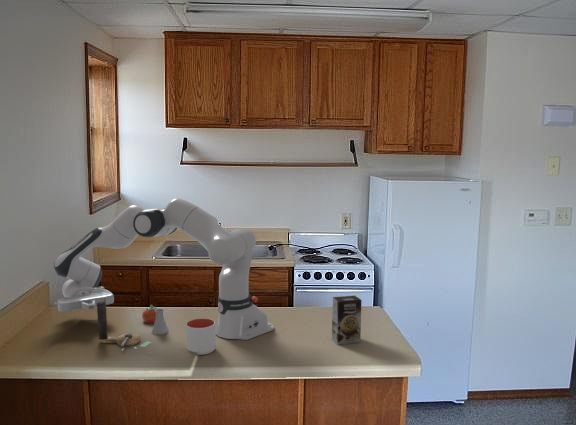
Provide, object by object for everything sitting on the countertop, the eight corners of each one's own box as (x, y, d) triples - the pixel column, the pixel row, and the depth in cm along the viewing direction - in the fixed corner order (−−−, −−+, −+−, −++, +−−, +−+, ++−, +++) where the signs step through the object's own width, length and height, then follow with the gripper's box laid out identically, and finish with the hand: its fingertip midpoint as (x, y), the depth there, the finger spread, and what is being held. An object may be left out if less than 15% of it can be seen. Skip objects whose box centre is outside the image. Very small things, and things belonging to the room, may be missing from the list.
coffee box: (337, 345, 189) (338, 301, 187) (331, 338, 196) (331, 296, 193) (361, 342, 192) (362, 299, 190) (354, 336, 198) (355, 294, 196)
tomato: (159, 327, 207) (158, 307, 206) (140, 327, 207) (139, 307, 206) (163, 320, 214) (163, 301, 213) (145, 320, 214) (144, 301, 213)
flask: (165, 339, 195) (164, 313, 193) (146, 338, 196) (145, 312, 195) (173, 332, 202) (172, 307, 200) (155, 331, 203) (154, 305, 202)
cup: (185, 346, 188) (184, 319, 187) (213, 343, 191) (212, 317, 190) (188, 358, 179) (187, 329, 177) (218, 354, 182) (217, 326, 180)
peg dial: (142, 337, 193) (141, 299, 191) (133, 350, 181) (132, 310, 179) (102, 337, 193) (100, 299, 191) (91, 350, 181) (88, 310, 179)
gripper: (52, 294, 202) (61, 303, 191) (106, 285, 214) (118, 294, 203) (53, 310, 203) (62, 320, 192) (107, 300, 215) (118, 310, 204)
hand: (91, 307), depth 197 cm, fingers closed
